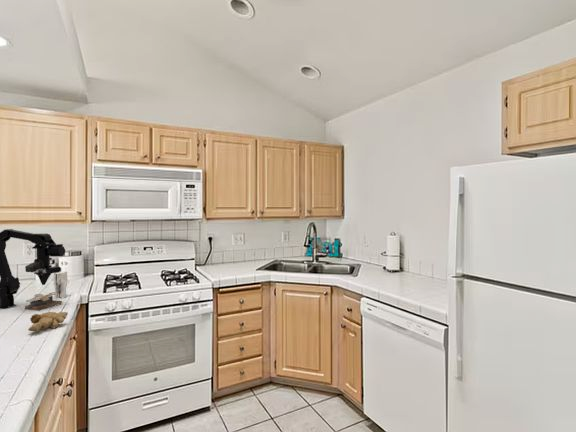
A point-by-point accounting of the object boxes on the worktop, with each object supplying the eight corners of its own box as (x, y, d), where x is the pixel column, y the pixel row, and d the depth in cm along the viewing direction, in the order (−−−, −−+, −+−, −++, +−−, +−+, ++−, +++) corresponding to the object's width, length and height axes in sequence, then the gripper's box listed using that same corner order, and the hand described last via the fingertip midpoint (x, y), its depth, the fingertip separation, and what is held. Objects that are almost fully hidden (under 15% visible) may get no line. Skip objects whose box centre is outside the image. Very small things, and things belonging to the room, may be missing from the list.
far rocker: (42, 298, 186) (42, 295, 186) (47, 296, 188) (46, 294, 189) (52, 295, 184) (51, 292, 184) (56, 293, 187) (56, 291, 187)
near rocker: (26, 302, 177) (25, 300, 177) (31, 301, 180) (31, 298, 180) (36, 299, 175) (35, 296, 175) (41, 298, 178) (40, 295, 178)
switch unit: (25, 309, 177) (24, 301, 177) (48, 302, 189) (48, 295, 189) (39, 310, 174) (39, 303, 174) (61, 303, 187) (61, 296, 187)
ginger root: (60, 315, 162) (61, 300, 160) (71, 330, 152) (72, 315, 150) (20, 325, 150) (20, 309, 148) (29, 342, 140) (30, 325, 139)
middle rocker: (34, 296, 181) (34, 294, 181) (39, 295, 184) (39, 292, 184) (43, 301, 180) (44, 298, 180) (48, 299, 183) (49, 297, 182)
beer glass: (51, 299, 196) (51, 274, 196) (56, 296, 203) (56, 272, 202) (65, 298, 198) (64, 273, 197) (69, 295, 204) (69, 271, 204)
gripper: (14, 258, 176) (15, 287, 176) (42, 259, 171) (42, 289, 171) (35, 255, 186) (36, 282, 187) (61, 256, 182) (62, 284, 182)
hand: (43, 284), depth 181 cm, fingers closed
